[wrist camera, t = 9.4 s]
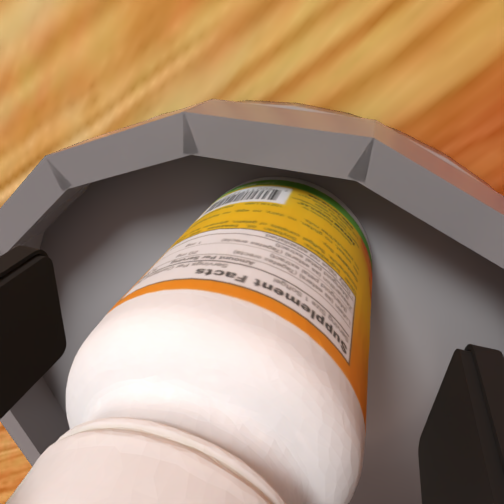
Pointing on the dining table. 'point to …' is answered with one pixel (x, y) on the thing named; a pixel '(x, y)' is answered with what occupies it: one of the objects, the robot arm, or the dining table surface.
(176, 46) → the dining table surface
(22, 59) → the dining table surface
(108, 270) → the ring tray
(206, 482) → the supplement bottle
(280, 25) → the dining table surface
